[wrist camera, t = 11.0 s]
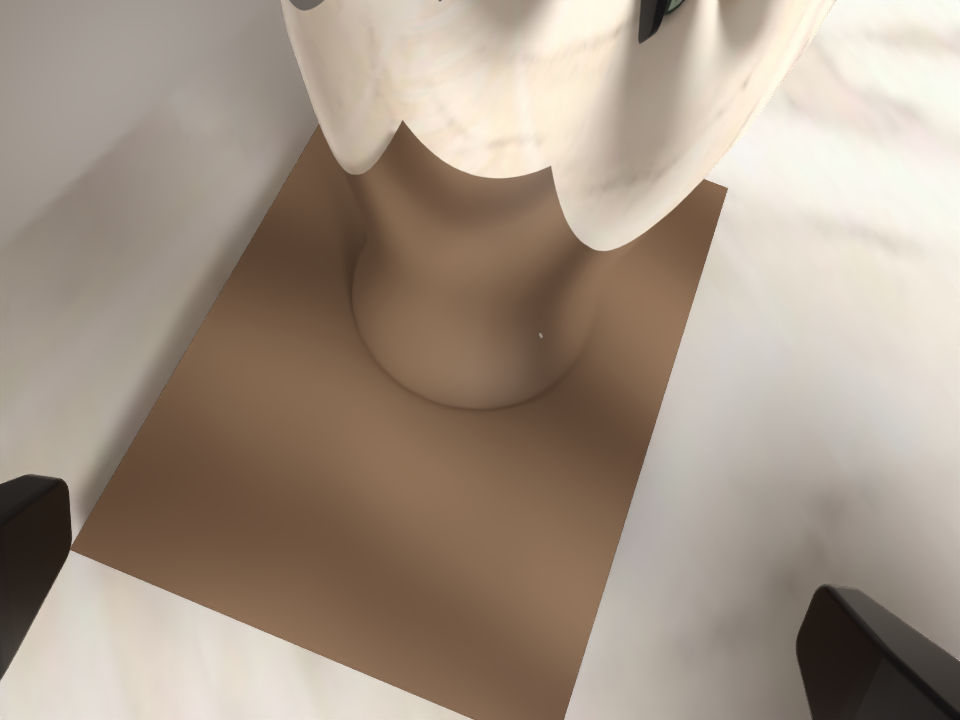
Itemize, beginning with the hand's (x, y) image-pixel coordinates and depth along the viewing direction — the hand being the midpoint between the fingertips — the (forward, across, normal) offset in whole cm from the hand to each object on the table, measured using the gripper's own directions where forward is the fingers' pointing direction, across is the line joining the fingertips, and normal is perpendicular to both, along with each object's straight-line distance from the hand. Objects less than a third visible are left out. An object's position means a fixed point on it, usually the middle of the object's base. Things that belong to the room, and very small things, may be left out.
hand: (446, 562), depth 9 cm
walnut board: (+11, 0, +2) cm, 11 cm away
